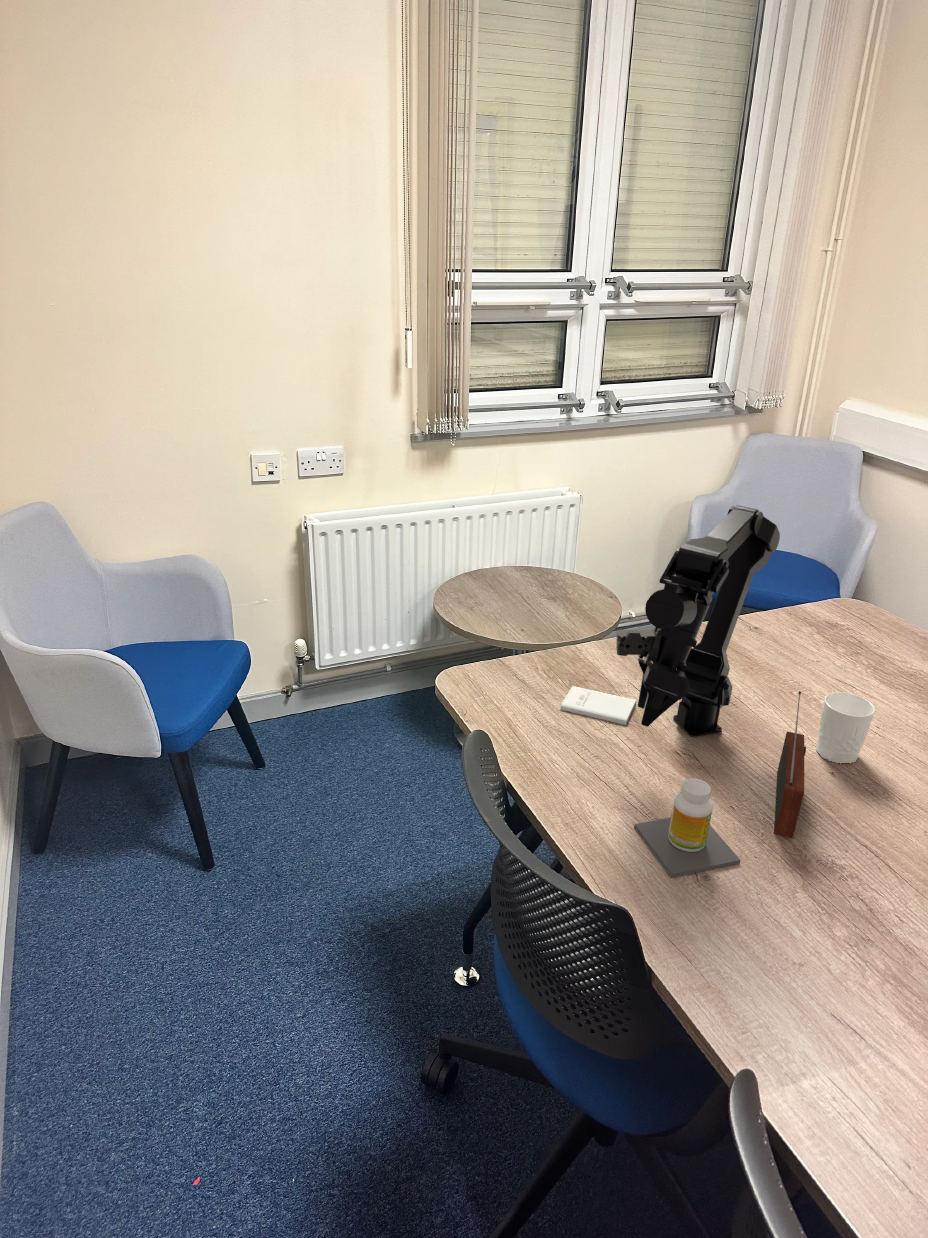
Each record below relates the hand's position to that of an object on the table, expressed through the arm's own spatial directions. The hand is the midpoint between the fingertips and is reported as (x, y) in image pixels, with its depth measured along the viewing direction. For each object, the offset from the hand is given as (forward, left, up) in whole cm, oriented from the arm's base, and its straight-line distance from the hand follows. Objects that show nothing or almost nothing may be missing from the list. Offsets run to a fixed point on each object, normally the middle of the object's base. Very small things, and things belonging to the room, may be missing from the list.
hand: (642, 716), depth 132 cm
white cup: (-37, +3, -12) cm, 39 cm away
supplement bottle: (0, +17, -11) cm, 20 cm away
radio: (-20, +12, -12) cm, 27 cm away
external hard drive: (-4, -21, -12) cm, 25 cm away
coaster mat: (+1, +17, -11) cm, 21 cm away
